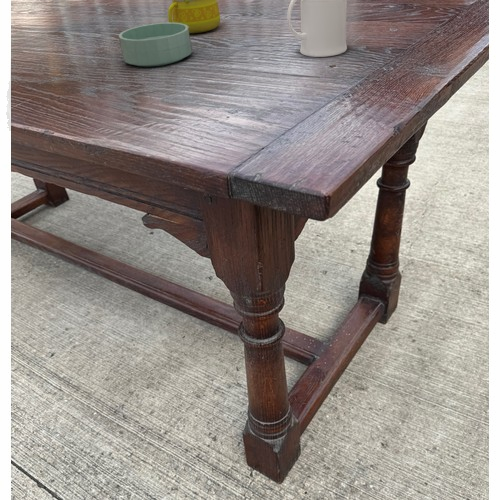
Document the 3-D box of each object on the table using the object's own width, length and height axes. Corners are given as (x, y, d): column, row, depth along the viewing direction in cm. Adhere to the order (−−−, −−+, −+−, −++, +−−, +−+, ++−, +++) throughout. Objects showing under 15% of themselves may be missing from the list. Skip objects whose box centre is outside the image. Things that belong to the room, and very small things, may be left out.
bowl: (161, 71, 92) (156, 42, 89) (110, 64, 98) (103, 37, 95) (205, 51, 100) (202, 24, 97) (156, 46, 106) (151, 21, 104)
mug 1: (201, 22, 122) (193, -35, 115) (231, 27, 115) (225, -33, 108) (157, 34, 116) (146, -25, 108) (186, 40, 109) (176, -23, 102)
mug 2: (298, 64, 88) (296, -13, 81) (276, 53, 95) (272, -19, 88) (356, 50, 92) (358, -24, 85) (330, 41, 98) (331, -29, 91)
